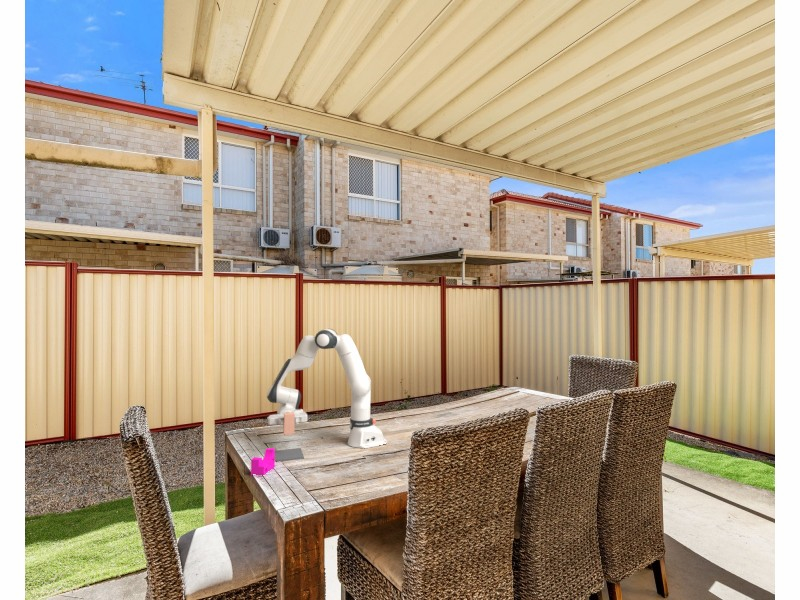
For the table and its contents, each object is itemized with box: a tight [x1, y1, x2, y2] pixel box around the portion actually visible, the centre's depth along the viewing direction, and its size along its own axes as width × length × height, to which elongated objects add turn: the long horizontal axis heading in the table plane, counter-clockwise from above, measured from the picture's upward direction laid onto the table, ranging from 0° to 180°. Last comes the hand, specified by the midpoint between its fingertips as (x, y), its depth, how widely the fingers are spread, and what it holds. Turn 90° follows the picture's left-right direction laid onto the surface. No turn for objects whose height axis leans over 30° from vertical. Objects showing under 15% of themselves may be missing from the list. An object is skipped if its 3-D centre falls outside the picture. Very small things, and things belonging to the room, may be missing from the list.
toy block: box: [250, 447, 276, 477], centre depth 186 cm, size 15×6×8 cm, turn 170°
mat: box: [275, 447, 305, 462], centre depth 204 cm, size 14×14×1 cm
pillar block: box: [282, 412, 295, 436], centre depth 204 cm, size 5×5×10 cm
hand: (289, 422), depth 203 cm, fingers closed on pillar block, 5 cm apart
